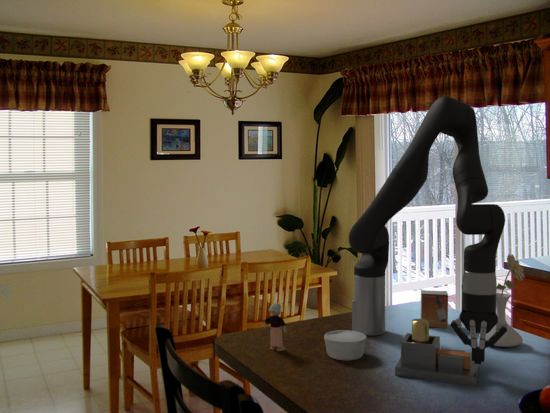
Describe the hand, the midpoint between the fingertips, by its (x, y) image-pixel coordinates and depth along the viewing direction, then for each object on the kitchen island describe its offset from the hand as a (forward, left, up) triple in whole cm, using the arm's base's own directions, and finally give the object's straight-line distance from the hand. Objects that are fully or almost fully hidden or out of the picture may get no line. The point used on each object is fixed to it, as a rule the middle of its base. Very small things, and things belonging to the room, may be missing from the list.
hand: (477, 362), depth 132 cm
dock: (-9, 0, -3) cm, 10 cm away
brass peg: (-13, 0, -1) cm, 13 cm away
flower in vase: (+5, +29, -4) cm, 29 cm away
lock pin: (-6, 0, -1) cm, 6 cm away
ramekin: (-33, +4, -4) cm, 34 cm away
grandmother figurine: (-52, +2, -4) cm, 52 cm away
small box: (-15, +41, -4) cm, 44 cm away
